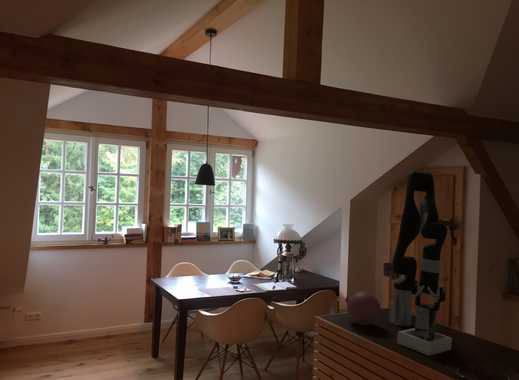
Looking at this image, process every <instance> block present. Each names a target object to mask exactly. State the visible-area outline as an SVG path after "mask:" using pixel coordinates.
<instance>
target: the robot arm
mask: <svg viewBox="0 0 519 380" xmlns="http://www.w3.org/2000/svg"><path fill="white" fill-rule="evenodd" d="M405 188H406V189H405V197H404V204H403V209H402V210H403V211H402V215H401V220H400V226H399V233H398V237H397V242H396V247H395V249H394V250H395V251H394V254H393V258H392V262H391V270H392V273H393V274H395V275H398V276H399V275H400V276H403V277H402V278H401V279H398V280H395V281H394V282H393V292H392V302H390V305H389V306H390V307H389V320H388V322H389V323H391V324H393V325H395V326H399V327H410V326H411V323H412V322H411V321H412V310H413V298H414V297H415V299H414V304H415V306H416V307H417V306H419V305H420V304H421V300H422V299H421V296H422V295H423V294H426V295H429V296H431V298H433V300H434V311H437V312H438V311H439V310H440V308H441V307H440V306H441V303H445V302H446V287H445V286H439V281H440V273H441V257H442V256H441V254H442V249H443V247H444V246H443V245H444V243H445V241H446V238H447V236H448V230H449V229H448V227H447V225H446V224H445V223H442V222H439V220H440V214H439V211H438V209H437V205H436V193H435V192H436V191H435V181H434V177H433V174H432V173H429V172H424V171H417V170H416V171H415V170H414V171H413V170H412V171H410V172H409V173H408V176H407V181H406V187H405ZM415 192H419V193H426V194H425V196H424V198H423V199H422V200H421V202H420V204H419V208H418V207H417V204H416V201H415ZM419 234H420V236H422V238H424V239H427V240H435V241H434V242H433V243H428V244H424V245H423V246H422V247H423V248H422V258H421V263H420V273H419V280H418V279H416V277H417V269H418V263H417V262H418V261H417V259H416V258H415V257H414V256H410V255H409V256H408V255H405V254H406V252H407V249H408V248H409V246H410V245H411V244H412V243H413V242H414V240H416V238H417V237H418V236H419ZM418 288H419V289H418Z"/></svg>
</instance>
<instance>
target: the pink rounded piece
mask: <svg viewBox="0 0 519 380" xmlns="http://www.w3.org/2000/svg"><path fill="white" fill-rule="evenodd" d="M344 301H345V302H346V303H347V307H346V308H347V309H346V310H347V314H348V315H349V318H350V319H351V320H352V321H353V322H354V323H356V324H357V325H360V326H371V325H373V324H374V323H376V322H377V321H378V319H379V318H380V315H381V310H382V307H381V304H380V302H379V300H378V298H377V297H376V296H375V295H373V294H372V293H370V292H366V291H359V292H357V293H354V294H353V295H351V297H349V296H346V297H345V299H344Z"/></svg>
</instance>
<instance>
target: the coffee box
mask: <svg viewBox="0 0 519 380" xmlns="http://www.w3.org/2000/svg"><path fill="white" fill-rule="evenodd" d="M437 312H438V311H434V305H433V304H428V303H423V302H422V303H420V305H419V306H416V314H415V325H414V328H415V337H418V338H420V339H423V340H426V341H433V340H434V337H435V332H436V321H437Z"/></svg>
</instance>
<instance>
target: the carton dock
mask: <svg viewBox="0 0 519 380" xmlns="http://www.w3.org/2000/svg"><path fill="white" fill-rule="evenodd" d="M396 341H397V342H396V344H398V345H399V346H402V347H406V348H408V349H410V348H411V350H413V351H415V350H416V352H418V353H421V354H423V355H426V356H428V357H429V356H433V355H437V354H440V353H444V352H447V351H452V343H453V342H452V341H453V337H450V336H447V335H445V334H442V333H439V332H436V331H435V337H434V340H433V341H426V340H423V339H420V338H418V337H415V327H414V328H409V329H405V330H400V331H397V338H396Z"/></svg>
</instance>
